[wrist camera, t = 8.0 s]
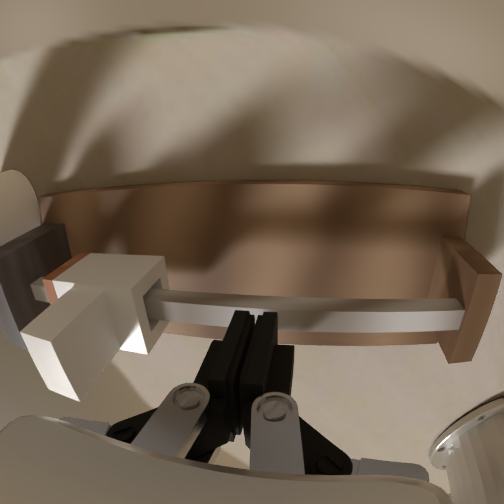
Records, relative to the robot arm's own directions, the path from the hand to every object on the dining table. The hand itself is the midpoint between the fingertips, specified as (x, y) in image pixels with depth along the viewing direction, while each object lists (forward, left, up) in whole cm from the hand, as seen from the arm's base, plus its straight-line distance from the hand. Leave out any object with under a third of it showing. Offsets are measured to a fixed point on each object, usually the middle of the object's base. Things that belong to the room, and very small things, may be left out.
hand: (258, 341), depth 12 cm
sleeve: (+8, 0, -4) cm, 9 cm away
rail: (+3, 0, -7) cm, 8 cm away
